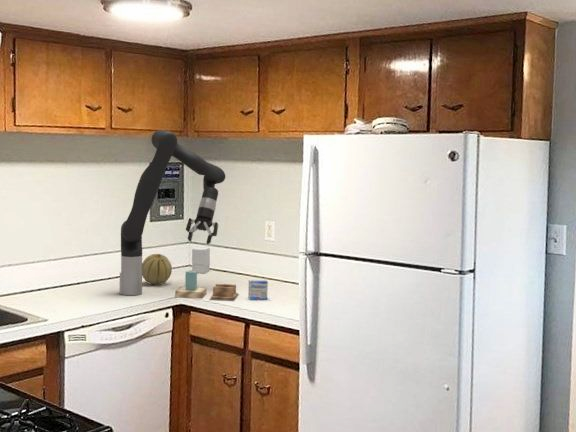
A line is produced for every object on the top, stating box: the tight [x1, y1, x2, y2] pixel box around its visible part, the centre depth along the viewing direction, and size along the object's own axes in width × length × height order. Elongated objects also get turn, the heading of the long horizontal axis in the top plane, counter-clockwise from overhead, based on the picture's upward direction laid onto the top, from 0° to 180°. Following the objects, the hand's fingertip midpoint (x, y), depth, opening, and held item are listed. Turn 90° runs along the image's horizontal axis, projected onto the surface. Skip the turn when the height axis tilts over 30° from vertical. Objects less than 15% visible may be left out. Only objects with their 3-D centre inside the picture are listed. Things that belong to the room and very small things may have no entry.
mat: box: [208, 293, 240, 302], centre depth 337 cm, size 11×16×1 cm
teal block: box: [184, 270, 198, 290], centre depth 338 cm, size 4×3×8 cm, turn 85°
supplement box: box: [191, 246, 211, 274], centre depth 400 cm, size 7×7×13 cm
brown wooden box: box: [210, 283, 239, 300], centre depth 337 cm, size 10×12×5 cm
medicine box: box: [248, 279, 269, 301], centre depth 335 cm, size 8×4×9 cm, turn 101°
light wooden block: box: [174, 286, 208, 299], centre depth 338 cm, size 12×10×3 cm
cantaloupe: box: [142, 253, 173, 286], centre depth 363 cm, size 15×15×15 cm
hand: (198, 242), depth 346 cm, fingers open, 8 cm apart
